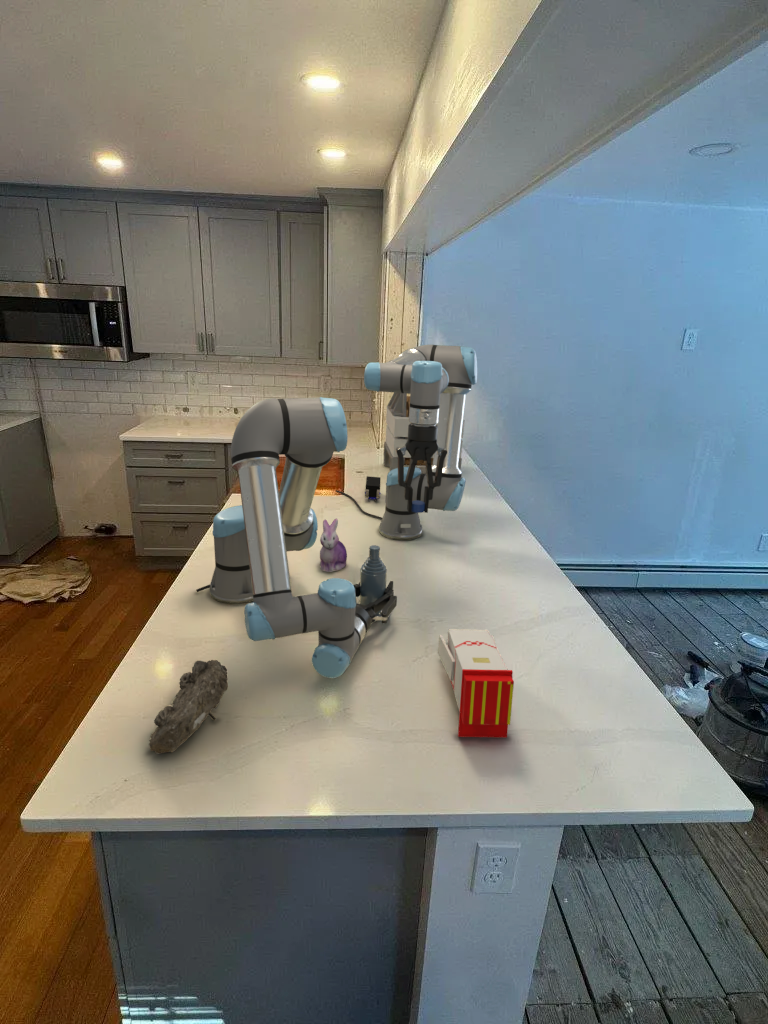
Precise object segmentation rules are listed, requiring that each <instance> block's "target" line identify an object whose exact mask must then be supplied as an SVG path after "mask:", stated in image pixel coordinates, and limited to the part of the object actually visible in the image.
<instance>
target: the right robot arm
mask: <svg viewBox="0 0 768 1024" xmlns="http://www.w3.org/2000/svg"><path fill="white" fill-rule="evenodd" d="M477 357H478V356H477V351H476V350H475V348H473V347H470V346H463V345H444V344H443V345H441V344H422V345H418V346H413V347H411V348H407V349H406V350H403V351H402V352H401V353H400V354H399V356H397V357H396V358H393V359H391V360H389V361H386V362H379V361H377V362H368V363H367V364H366V366H365V368H364V374H363V383H364V387H365V389H366V390H368V391H373V392H377V393H379V392H381V393H382V392H383V393H394V392H395V393H406V394H408V395H409V396H410V408H409V422H410V423H411V424H409V425H408V440H407V442H406V444H405V446H403V447H401V448H399V447H397V448H396V453H397V455H398V468H396V469H393V470H391V471H390V470H389V472H388V473H387V475H386V482H385V504H384V505H385V507H384V508H385V509H384V513H383V515H382V517H381V516H379V515H375V514H372V513H369V512H367V511H365V510H363V509H362V507H361V506H360V504H359V503H358V502H357V500H355V498H353V496H352V495H349V494H347V493H346V492H343V491H340V490H338V489H336V490H335V492H336V493H339V494H341V495H343V496H345V497H348V498H349V499H350V500H351V501H352V502H354V504H355V505H356V507H357V508H358V510H359V511H360V512H361V513H362V514H364V515H366V516H369V517H372V518H375V519H379V520H381V522H379V525H378V533H379V534H380V535H381V536H382V537H385V538H387V539H389V540H395V541H410V540H415V539H418V538H420V537H421V536H422V535H423V525H422V524H421V518H420V515H419V514H420V513H416V512H412V501H416V500H418V501H423V502H425V511H424V512H423V513H425V514H428V512H429V509H430V510H437V511H443V512H456V511H457V510H458V509H459V508H460V505H461V502H462V499H463V495H464V493H465V492H464V491H465V487H466V478H465V477H463V476H462V475H463V472H462V470H461V471H460V469H459V468H458V463H459V453H460V444H461V440H462V438H461V435H462V426H463V419H464V417H465V416H464V415H465V406H466V397H467V394H469V392H471V391H472V385H473V386H474V385H476V384H477V382H478V359H477ZM436 424H437V425H436ZM406 450H407V451H408V452H409V454H410V455H411V458H410V464H409V466H405V465H404V457H403V456H404V455H405V451H406ZM433 455H434V456H433ZM432 456H433V465H431V457H432ZM419 460H424V461H425V466H424V467H425V473H422V469H421V468H420V467H417V466H416V464H417V461H419Z"/></svg>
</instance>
